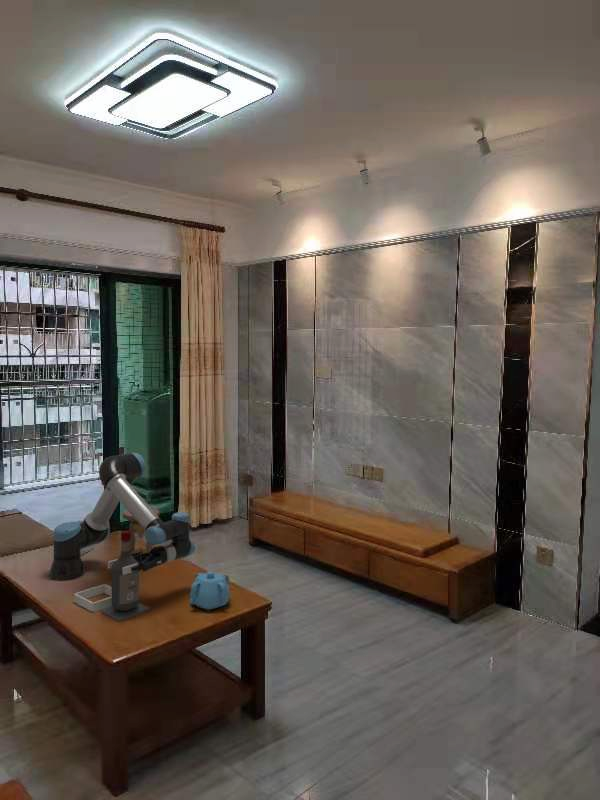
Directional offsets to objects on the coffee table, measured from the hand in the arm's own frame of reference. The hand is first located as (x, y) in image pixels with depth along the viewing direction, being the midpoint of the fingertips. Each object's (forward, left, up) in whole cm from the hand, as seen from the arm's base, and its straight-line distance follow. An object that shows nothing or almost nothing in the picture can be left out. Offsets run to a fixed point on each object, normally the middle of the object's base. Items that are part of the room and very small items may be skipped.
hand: (115, 568), depth 226 cm
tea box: (-78, +29, -19) cm, 85 cm away
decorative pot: (+20, +31, -19) cm, 42 cm away
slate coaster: (0, +4, -19) cm, 19 cm away
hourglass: (-44, +43, -19) cm, 65 cm away
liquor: (0, +4, -17) cm, 17 cm away
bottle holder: (-16, +2, -19) cm, 24 cm away
